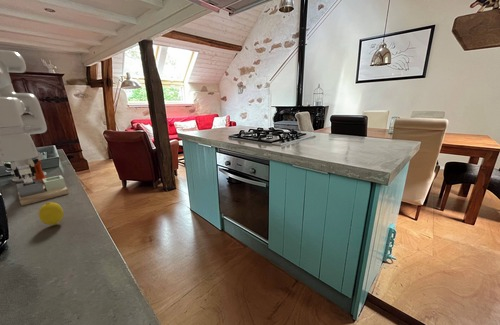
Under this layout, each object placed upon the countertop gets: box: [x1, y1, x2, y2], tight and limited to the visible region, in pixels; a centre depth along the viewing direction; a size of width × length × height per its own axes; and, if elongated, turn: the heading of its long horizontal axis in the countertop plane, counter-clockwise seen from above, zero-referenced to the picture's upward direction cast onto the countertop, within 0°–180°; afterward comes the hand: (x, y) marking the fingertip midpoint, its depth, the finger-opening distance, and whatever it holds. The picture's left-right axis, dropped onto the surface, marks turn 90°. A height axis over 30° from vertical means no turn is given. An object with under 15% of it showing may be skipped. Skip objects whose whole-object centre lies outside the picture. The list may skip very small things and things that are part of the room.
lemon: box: [38, 201, 65, 226], centre depth 67 cm, size 6×6×8 cm
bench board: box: [17, 185, 70, 206], centre depth 90 cm, size 14×14×2 cm
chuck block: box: [16, 179, 45, 198], centre depth 87 cm, size 7×7×4 cm
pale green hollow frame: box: [42, 174, 67, 191], centre depth 92 cm, size 6×6×4 cm
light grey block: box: [18, 165, 34, 186], centre depth 86 cm, size 7×3×10 cm, turn 49°
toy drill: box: [32, 157, 48, 185], centre depth 100 cm, size 5×19×15 cm, turn 46°
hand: (26, 176), depth 86 cm, fingers closed on light grey block, 3 cm apart
